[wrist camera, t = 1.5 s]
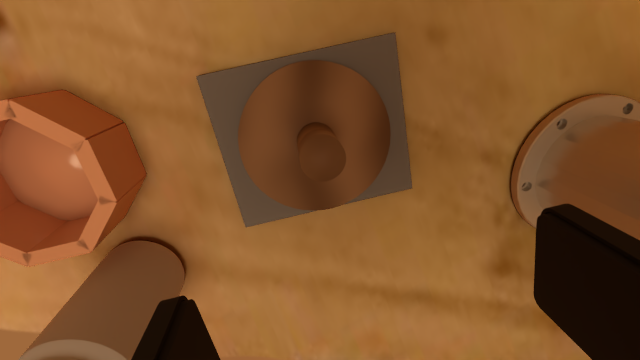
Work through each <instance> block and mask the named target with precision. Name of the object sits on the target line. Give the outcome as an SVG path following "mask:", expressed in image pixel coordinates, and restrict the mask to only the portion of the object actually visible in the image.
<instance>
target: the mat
mask: <svg viewBox="0 0 640 360" xmlns="http://www.w3.org/2000/svg"><path fill="white" fill-rule="evenodd" d="M307 60H321V61H329V62H333V63H337V64H340V65H343V66H345V67H348V68H350V69H352V70H354V71H355V72H357V73H358V74H360V75H361V76H363V77H364V78H365V79H366V80H367V81H368V82H369V83H370V84H371V85H372V86H373V87H374V88H375V89H376V91H377V92H378V94H379V95H380V97H381V99H382V101H383V103H384V105H385V107H386V110H387V113H388V117H389V122H390V132H391V137H390V146H389V151H388V155H387V158H386V161H385V163H384V165H383V168H382V170H381V171H380V173H379V175H378V176H377V178H376V179H375V180H374V181H373V183H372V184H371V185H370V186H369V187H368V188H367V189H366V190H365V191H364V192H363V193H361V194H360V195H359V196H357V197H356V198H354V199H353V200H351V201H349V202H347V203H351V202H356V201H360V200H364V199H369V198H373V197H377V196H381V195H386V194H390V193H394V192H398V191H403V190H407V189H411V188H412V181H411V172H410V163H409V153H408V144H407V135H406V126H405V117H404V108H403V99H402V90H401V80H400V71H399V62H398V53H397V44H396V35H395V33H390V34H385V35H381V36H376V37H372V38H367V39H363V40H358V41H354V42H349V43H345V44H340V45H336V46H331V47H326V48H322V49H317V50H313V51H308V52H304V53H299V54H295V55H290V56H286V57H281V58H277V59H272V60H268V61H263V62H259V63H254V64H249V65H245V66H240V67H236V68H231V69H227V70H222V71H218V72H213V73H209V74H204V75H200V76H196V77H197V80H198V83H199V87H200V90H201V93H202V96H203V99H204V102H205V105H206V108H207V111H208V114H209V117H210V120H211V123H212V126H213V129H214V132H215V135H216V138H217V141H218V144H219V147H220V150H221V153H222V156H223V160H224V163H225V166H226V169H227V172H228V175H229V178H230V181H231V184H232V187H233V190H234V193H235V196H236V199H237V202H238V205H239V208H240V211H241V214H242V217H243V220H244V223H245V226H246V227H249V226H254V225H258V224H262V223H266V222H271V221H275V220H279V219H283V218H288V217H292V216H296V215H300V214H305V213H309V212H313V211H317V210H313V211H311V210H301V209H295V208H292V207H288V206H285V205H283V204H281V203H279V202H277V201H275V200H273V199H272V198H270V197H269V196H267V195H266V194H265V193H264V192H262V191H261V190H260V189H259V188H258V187H257V186H256V185H255V183H254V182H253V181H252V179H251V178H250V177H249V175H248V173H247V171H246V169H245V167H244V165H243V162H242V159H241V156H240V152H239V145H238V128H239V123H240V118H241V115H242V112H243V109H244V107H245V105H246V103H247V101H248V99H249V97H250V96H251V94H252V93H253V91H254V90H255V89H256V88H257V86H258V85H259V84H260V83H261V82H262V81H263V80H264V79H265V78H267V77H268V76H269V75H270V74H272V73H273V72H275V71H276V70H278V69H280V68H282V67H284V66H287V65H289V64H292V63H296V62H300V61H307ZM347 203H345V204H347Z"/></svg>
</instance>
